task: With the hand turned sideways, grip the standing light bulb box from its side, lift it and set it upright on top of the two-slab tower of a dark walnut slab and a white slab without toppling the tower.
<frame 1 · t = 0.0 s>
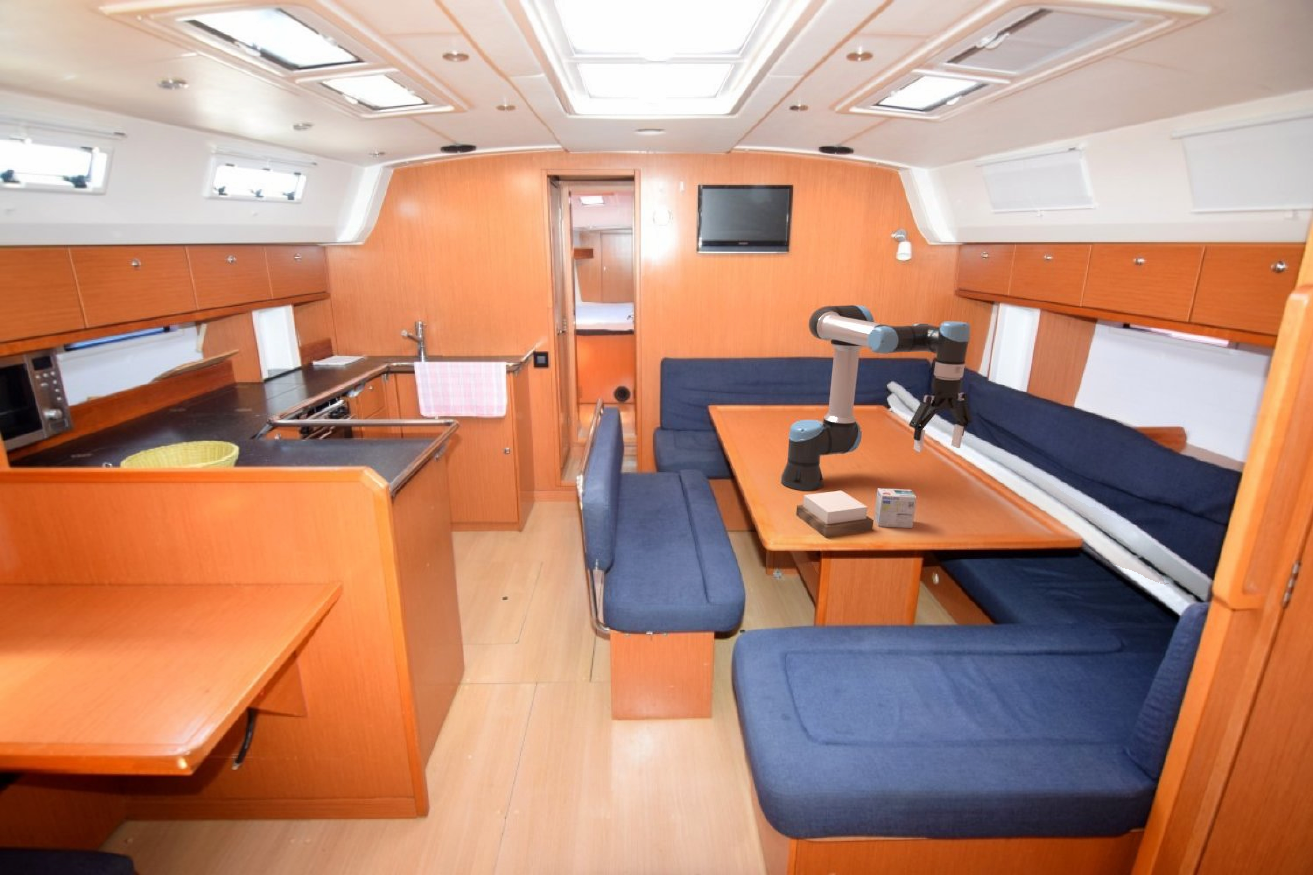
hand: (936, 448, 180), 28 cm above the table, tool pointing down, fingers open, 13 cm apart
walnut slab: (833, 524, 197), on the table, touching white slab
light bulb box: (892, 523, 197), on the table
white slab: (833, 512, 196), point 3 cm above the table, touching walnut slab
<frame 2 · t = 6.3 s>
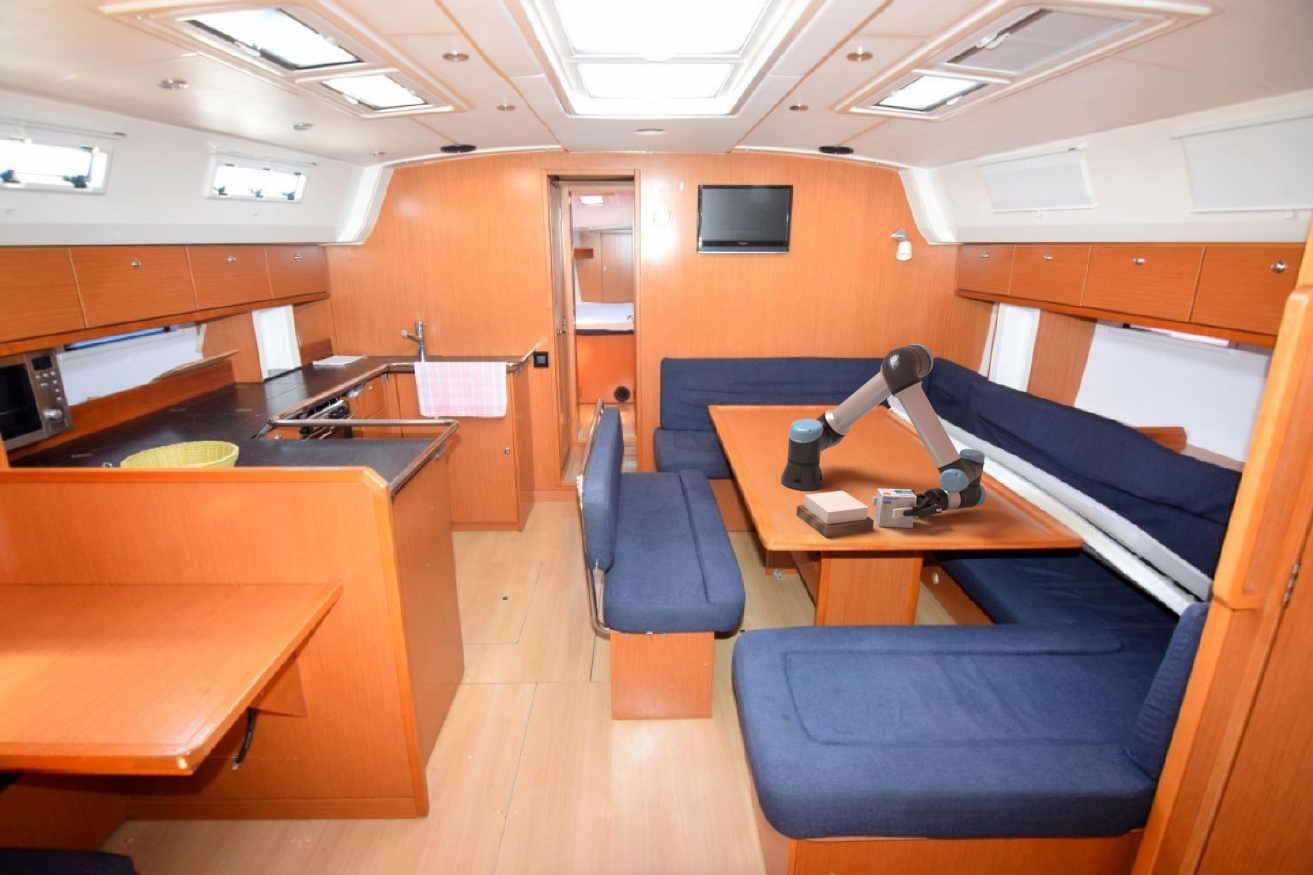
hand: (883, 507, 194), 6 cm above the table, tool horizontal, fingers closed on light bulb box, 9 cm apart
light bulb box: (892, 523, 197), on the table, touching gripper
everything else where it was.
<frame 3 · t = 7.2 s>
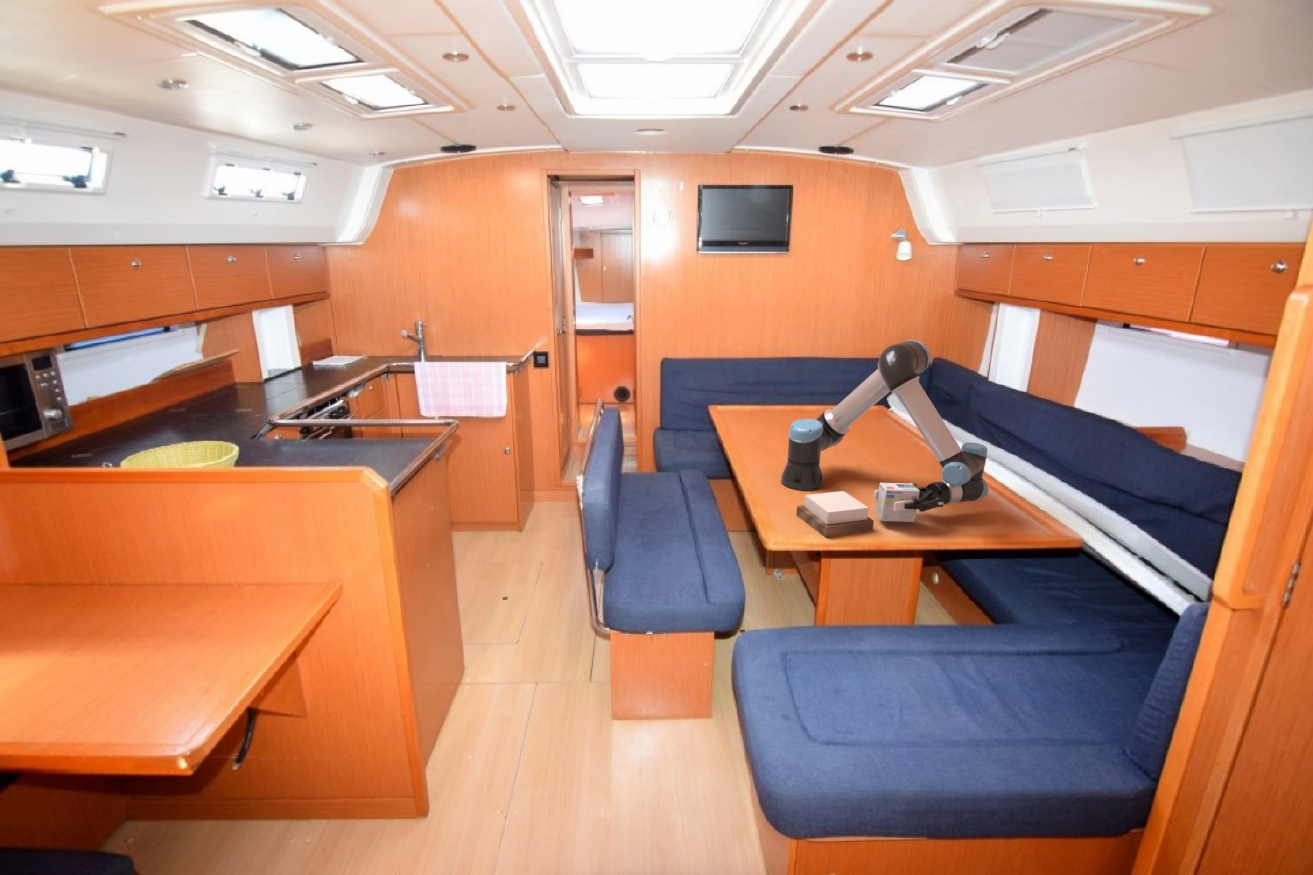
hand: (884, 500, 193), 8 cm above the table, tool horizontal, fingers closed on light bulb box, 9 cm apart
light bulb box: (894, 518, 196), point 2 cm above the table, touching gripper
everything else where it was.
when the fingers open (15 cm above the table, at t = 11.3 s): light bulb box drops 2 cm, resting on white slab.
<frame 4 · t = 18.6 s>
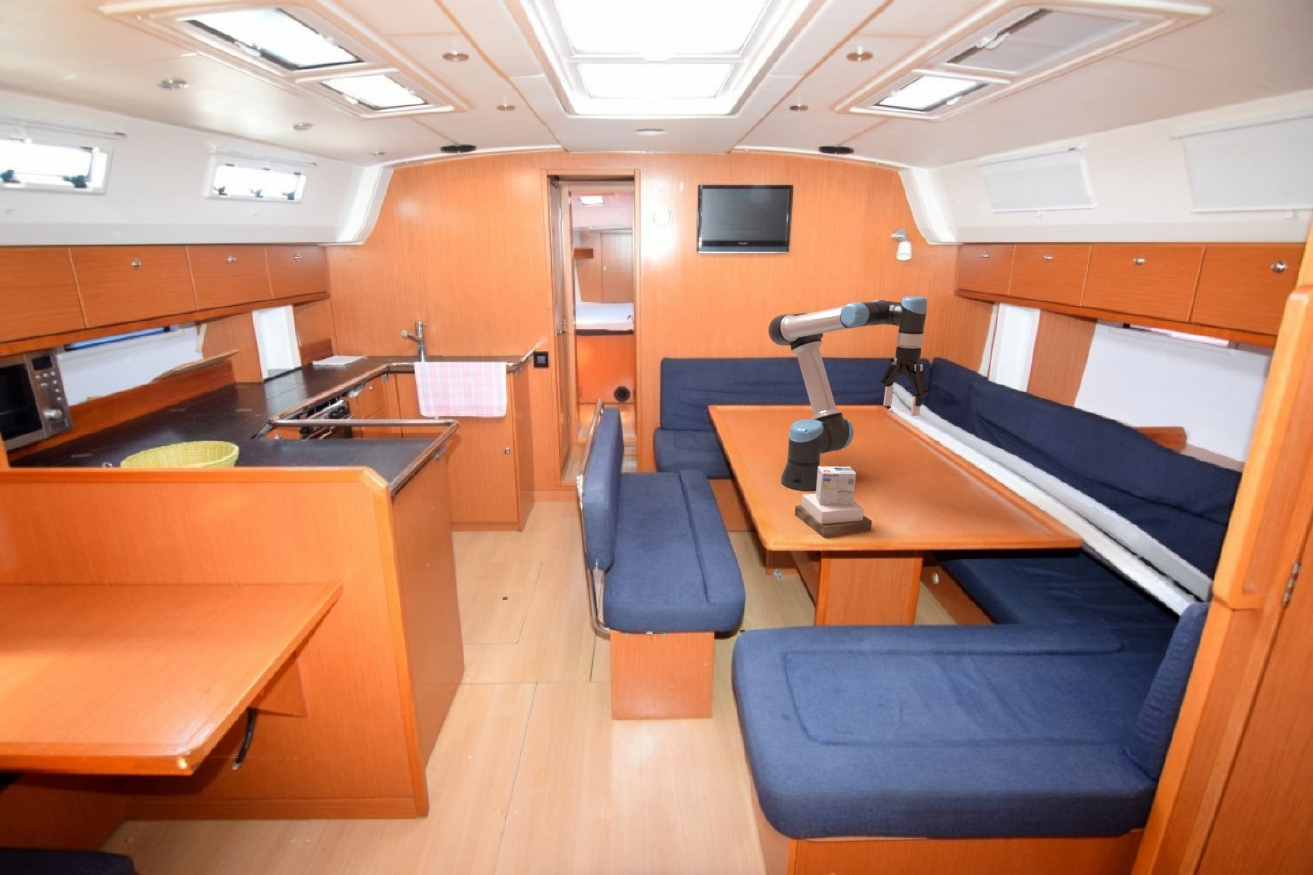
hand: (900, 410, 204), 33 cm above the table, tool pointing down, fingers open, 13 cm apart
light bulb box: (833, 501, 195), point 7 cm above the table, touching white slab
white slab: (831, 512, 196), point 3 cm above the table, touching light bulb box, walnut slab
everything else where it was.
at the end: light bulb box inside the target area on the white slab (0.5 cm from its centre), point 3.9 cm above the white slab's base; light bulb box tilted 0°; white slab 0.4 cm from the walnut slab (horizontally) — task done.
